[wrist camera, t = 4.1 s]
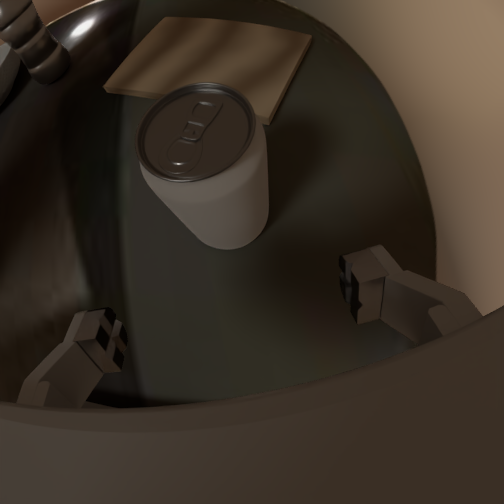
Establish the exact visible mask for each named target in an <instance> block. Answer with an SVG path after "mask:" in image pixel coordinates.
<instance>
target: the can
mask: <svg viewBox="0 0 504 504" xmlns="http://www.w3.org/2000/svg"><path fill="white" fill-rule="evenodd" d="M135 149H136V154H137V157H138V159H139V161H140V167H141V171H142V174H143V176H144V178H145V180H146V182H147V183H148V185H149V186H150V188H151V189H152V190H153V191H154V192H155V194H156V195H157V196H158V197H159V198H160V199H161V200H162V201H163V202H164V203H165V204H166V205H167V207H168V208H169V209H170V210H171V211H172V212H173V213H174V214H175V215H176V216H177V217H178V218H179V219H180V220H181V221H182V222H183V223H184V224H185V225H186V226H187V227H188V228H189V229H190V230H191V231H192V232H193V233H194V234H195V235H196V236H197V237H198V238H199V239H200V240H201V241H202V242H203V243H205V244H207V245H209V246H211V247H214V248H218V249H227V250H229V249H236V248H240V247H243V246H245V245H247V244H249V243H250V242H252V241H253V240H254V239H255V238H257V237H258V235H259V234H260V233H261V232H262V230H263V229H264V227H265V225H266V222H267V219H268V213H269V191H268V164H267V146H266V137H265V132H264V128H263V126H262V123H261V121H260V119H259V118H258V116H257V115H256V114H255V112H254V110H253V107H252V105H251V104H250V102H249V101H248V99H247V98H246V97H245V96H244V95H243V94H242V93H240V92H239V91H237V90H236V89H234V88H232V87H230V86H227V85H224V84H220V83H213V82H200V83H193V84H188V85H185V86H182V87H179V88H176V89H174V90H172V91H170V92H168V93H167V94H165V95H164V96H162V97H161V98H159V99H158V100H157V101H156V102H155V103H154V104H153V105H152V106H151V107H150V108H149V109H148V110H147V111H146V113H145V114H144V116H143V117H142V119H141V121H140V123H139V125H138V128H137V131H136V136H135Z"/></svg>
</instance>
